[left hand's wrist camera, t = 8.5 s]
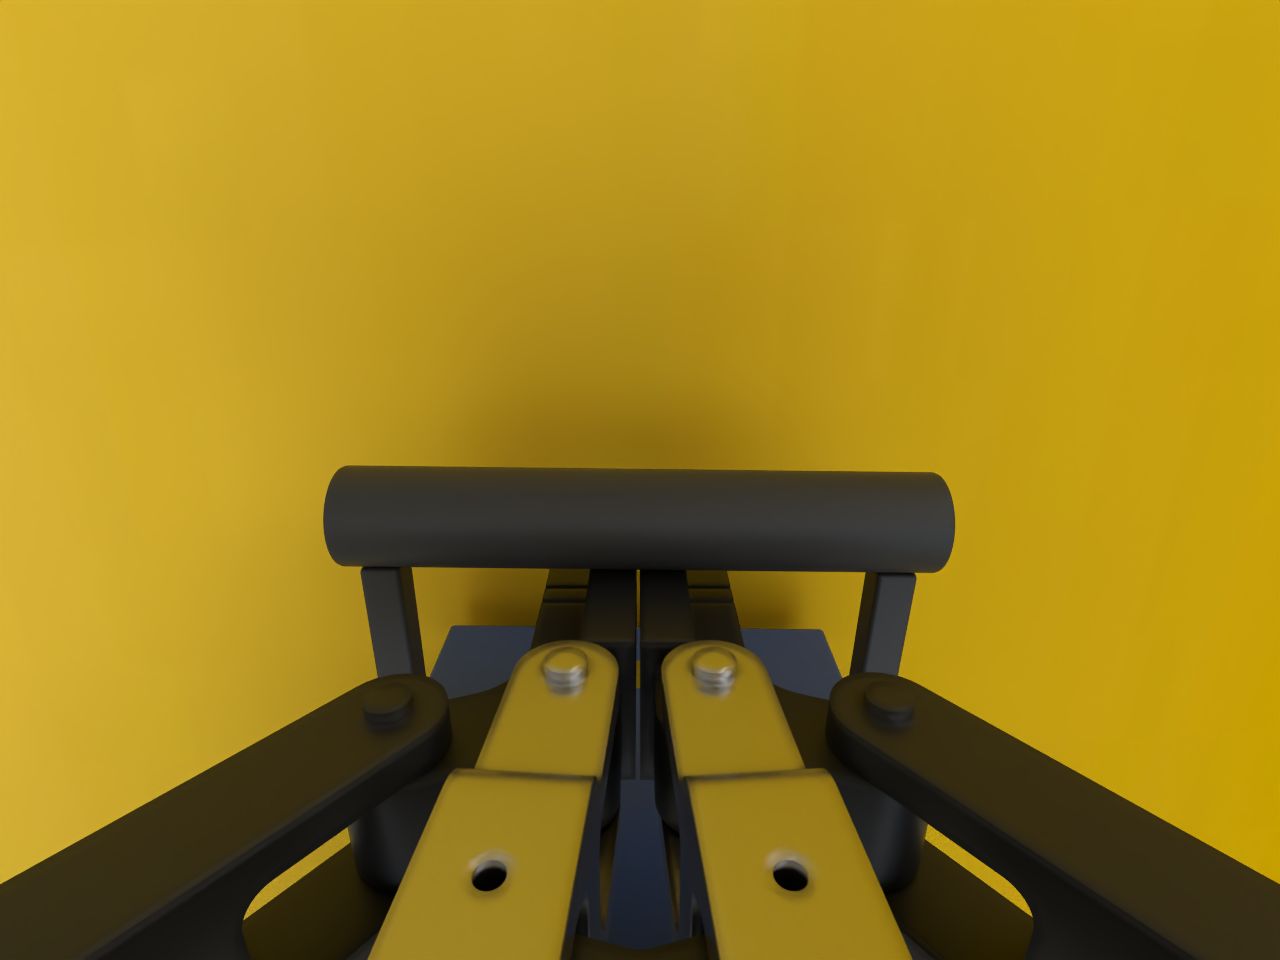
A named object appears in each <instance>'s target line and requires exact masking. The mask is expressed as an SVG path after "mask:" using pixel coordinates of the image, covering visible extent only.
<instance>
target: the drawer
mask: <svg viewBox="0 0 1280 960" xmlns="http://www.w3.org/2000/svg"><path fill="white" fill-rule="evenodd" d="M323 523H324V535H325V541H326V545H327V548H328V551H329V553H330V555H331V557H332V559H333V560H334V561H335V562H336V563H337V564H339V565H341V566H363V567H362V569H361V578H362V584H363V590H364V596H365V602H366V608H367V614H368V620H369V626H370V633H371V639H372V645H373V651H374V657H375V663H376V669H377V675H378V678H380V677H384V676H388V675H394V674H418V675H424V676H426V673H425V665H424V658H423V650H422V643H421V635H420V628H419V620H418V613H417V605H416V598H415V590H414V582H413V575H412V567H453V568H542V569H631V570H720V571H809V572H866V574H865V580H864V586H863V592H862V599H861V605H860V611H859V617H858V624H857V630H856V636H855V642H854V649H853V655H852V661H851V667H850V674H849V675H852V674H856V673H863V672H878V673H886V674H892V675H896V676H898V671H899V666H900V661H901V656H902V651H903V646H904V640H905V635H906V630H907V625H908V620H909V615H910V609H911V604H912V599H913V594H914V589H915V584H916V575H915V573H935V572H937V571H940V570H941V569H942V568H943V567H944V566H945V565H946V563H947V561H948V559H949V557H950V554H951V551H952V547H953V542H954V535H955V514H954V506H953V501H952V497H951V493H950V491H949V488H948V486H947V484H946V482H945V481H944V480H943V478H942V477H941V476H939V475H937V474H935V473H931V472H853V471H768V470H683V469H599V468H514V467H429V466H344V467H342V468H340V469H339V470H338V471H337V472H336V473H335V474H334V476H333V478H332V479H331V481H330V484H329V487H328V490H327V494H326V498H325V504H324V517H323ZM535 628H536V626H452V627H451V629H450V631H449V634H448V636H447V638H446V641H445V643H444V645H443V647H442V650H441V652H440V654H439V657H438V659H437V661H436V664H435V666H434V668H433V671H432V673H431V675H430V678H432V679H434V680H436V681H438V682H439V683H440V684H441V685H442V686H443V687H444V688H445V690H446V693H447V695H448V699H452V698H457V697H461V696H466V695H470V694H475V693H479V692H482V691H486V690H489V689H491V688H494V687H496V686H498V685H500V684H502V683H504V682H506V681H507V680H509V679H510V677H511V674H512V672H513V669H514V667H515V665H516V663H517V662H518V661H519V660H520V658H521V657H522V656H524V655H525V654H526V653H527V652H529V651H530V648H531V644H532V640H533V636H534V632H535ZM741 633H742V638H743V642H744V646H745V648H746V649H748V650H749V651H751V652H753V653H754V654H755V655H756V656H758V657H759V658H760V660H761V661H762V662H763V663H764V665H765V667H766V669H767V672H768V674H769V677H770V679H771V682H772V684H774V685H776V686H778V687H780V688H783V689H786V690H788V691H792V692H795V693H799V694H803V695H808V696H812V697H817V698H822V699H826V700H829V697H830V692H831V690H832V688H833V686H834V685H835V684H836V683H837V682H838V681H839V680H841V679H842V677H841V674H840V672H839V669H838V667H837V664H836V662H835V660H834V657H833V655H832V652H831V650H830V647H829V645H828V643H827V640H826V638H825V635H824V633H823V631H822V630H819V629H741ZM620 805H621V833H620V841H619V849H618V857H617V866H616V874H615V882H614V891H613V899H612V907H611V915H610V924H609V932H608V940H607V942H608V943H611V944H615V945H619V946H623V947H626V948H631V949H649V948H654V947H657V946H661V945H665V944H669V943H672V942H673V941H672V932H671V924H670V916H669V908H668V899H667V891H666V883H665V874H664V866H663V858H662V850H661V841H660V833H659V813H658V811H657V808H656V805H655V792H654V780H640V628H638V627H637V648H636V774H635V780H621V797H620Z"/></svg>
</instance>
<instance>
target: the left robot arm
mask: <svg viewBox="0 0 1280 960" xmlns="http://www.w3.org/2000/svg"><path fill="white" fill-rule="evenodd" d="M636 648H637V570H631V569H550V571H549V575H548V579H547V583H546V589H545V591H544V595H543V602H542V603H541V608H540V612H539V616H538V620H537V624H536V628H535V632H534V636H533V640H532V644H531V648H530V651H529V652H527V653H526V654H525V655H524V656H522V657H521V658H520V660H519V661H518V662H517V663H516V665H515V667H514V669H513V672H512V674H511V677H510V679H509V680H507V681H506V682H504V683H502V684H500V685H498V686H496V687H494V688H491V689H489V690H486V691H482V692H479V693H475V694H470V695H466V696H461V697H457V698H452V699H448V695H447V693H446V690H445V688H444V687H443V686H442V685H441V684H440V683H439V682H438V681H436V680H434V679H432V678H430V677H427V676H424V675H418V674H394V675H388V676H384V677H380V678H376V679H373V680H371V681H368V682H366V683H364V684H362V685H360V686H358V687H356V688H354V689H352V690H350V691H348V692H347V693H345V694H343V695H341V696H339V697H338V698H336V699H334V700H332V701H330V702H329V703H327V704H325V705H323V706H321V707H320V708H318V709H316V710H314V711H312V712H311V713H309V714H307V715H305V716H303V717H302V718H300V719H298V720H296V721H294V722H293V723H291V724H289V725H287V726H285V727H283V728H282V729H280V730H278V731H276V732H274V733H273V734H271V735H269V736H267V737H265V738H264V739H262V740H260V741H258V742H256V743H255V744H253V745H251V746H249V747H247V748H246V749H244V750H242V751H240V752H238V753H237V754H235V755H233V756H231V757H229V758H228V759H226V760H224V761H222V762H220V763H219V764H217V765H215V766H213V767H211V768H209V769H208V770H206V771H204V772H202V773H200V774H199V775H197V776H195V777H193V778H191V779H190V780H188V781H186V782H184V783H182V784H181V785H179V786H177V787H175V788H173V789H172V790H170V791H168V792H166V793H164V794H163V795H161V796H159V797H157V798H155V799H154V800H152V801H150V802H148V803H146V804H145V805H143V806H141V807H139V808H137V809H135V810H134V811H132V812H130V813H128V814H126V815H125V816H123V817H121V818H119V819H117V820H116V821H114V822H112V823H110V824H108V825H107V826H105V827H103V828H101V829H99V830H98V831H96V832H94V833H92V834H90V835H89V836H87V837H85V838H83V839H81V840H80V841H78V842H76V843H74V844H72V845H71V846H69V847H67V848H65V849H63V850H61V851H60V852H58V853H56V854H54V855H52V856H51V857H49V858H47V859H45V860H43V861H42V862H40V863H38V864H36V865H34V866H33V867H31V868H29V869H27V870H25V871H24V872H22V873H20V874H18V875H16V876H15V877H13V878H11V879H9V880H7V881H6V882H4V883H2V884H0V960H1280V884H1278V883H1276V882H1274V881H1273V880H1271V879H1269V878H1267V877H1265V876H1264V875H1262V874H1260V873H1258V872H1256V871H1255V870H1253V869H1251V868H1249V867H1247V866H1246V865H1244V864H1242V863H1240V862H1238V861H1237V860H1235V859H1233V858H1231V857H1229V856H1228V855H1226V854H1224V853H1222V852H1220V851H1218V850H1217V849H1215V848H1213V847H1211V846H1209V845H1208V844H1206V843H1204V842H1202V841H1200V840H1199V839H1197V838H1195V837H1193V836H1191V835H1190V834H1188V833H1186V832H1184V831H1182V830H1181V829H1179V828H1177V827H1175V826H1173V825H1172V824H1170V823H1168V822H1166V821H1164V820H1163V819H1161V818H1159V817H1157V816H1155V815H1154V814H1152V813H1150V812H1148V811H1146V810H1144V809H1143V808H1141V807H1139V806H1137V805H1135V804H1134V803H1132V802H1130V801H1128V800H1126V799H1125V798H1123V797H1121V796H1119V795H1117V794H1116V793H1114V792H1112V791H1110V790H1108V789H1107V788H1105V787H1103V786H1101V785H1099V784H1098V783H1096V782H1094V781H1092V780H1090V779H1089V778H1087V777H1085V776H1083V775H1081V774H1080V773H1078V772H1076V771H1074V770H1072V769H1070V768H1069V767H1067V766H1065V765H1063V764H1061V763H1060V762H1058V761H1056V760H1054V759H1052V758H1051V757H1049V756H1047V755H1045V754H1043V753H1042V752H1040V751H1038V750H1036V749H1034V748H1033V747H1031V746H1029V745H1027V744H1025V743H1024V742H1022V741H1020V740H1018V739H1016V738H1015V737H1013V736H1011V735H1009V734H1007V733H1006V732H1004V731H1002V730H1000V729H998V728H996V727H995V726H993V725H991V724H989V723H987V722H986V721H984V720H982V719H980V718H978V717H977V716H975V715H973V714H971V713H969V712H968V711H966V710H964V709H962V708H960V707H959V706H957V705H955V704H953V703H951V702H950V701H948V700H946V699H944V698H942V697H941V696H939V695H937V694H935V693H933V692H932V691H930V690H928V689H926V688H924V687H922V686H921V685H919V684H917V683H915V682H913V681H910V680H908V679H905V678H902V677H899V676H896V675H892V674H886V673H878V672H863V673H856V674H852V675H849V676H846V677H844V678H842V679H841V680H839V681H838V682H837V683H836V684H835V685H834V686H833V688H832V690H831V692H830V697H829V700H826V699H822V698H817V697H812V696H808V695H803V694H799V693H795V692H792V691H788V690H786V689H783V688H780V687H778V686H776V685H774V684H772V682H771V679H770V677H769V674H768V672H767V669H766V667H765V665H764V663H763V662H762V661H761V660H760V658H759V657H758V656H756V655H755V654H754V653H753V652H751V651H749V650H748V649H746V648H745V646H744V642H743V638H742V633H741V629H740V625H739V621H738V617H737V612H736V608H735V604H734V603H733V596H732V591H731V589H730V583H729V579H728V575H727V571H720V570H640V780H654V792H655V805H656V808H657V811H658V813H659V833H660V841H661V850H662V858H663V866H664V874H665V883H666V891H667V899H668V908H669V916H670V924H671V932H672V941H673V942H672V943H669V944H665V945H661V946H657V947H654V948H649V949H631V948H626V947H623V946H619V945H615V944H611V943H608V942H607V940H608V932H609V924H610V915H611V907H612V899H613V891H614V882H615V874H616V866H617V857H618V849H619V841H620V833H621V805H620V797H621V780H635V774H636ZM928 824H929V825H930V826H932V827H933V828H935V829H936V830H937V831H939V832H940V833H942V834H943V835H945V836H946V837H947V838H949V839H950V840H952V841H953V842H954V843H956V844H957V845H959V846H960V847H961V848H963V849H964V850H966V851H967V852H969V853H970V854H971V855H973V856H974V857H976V858H977V859H978V860H980V861H981V862H983V863H984V864H986V865H987V866H988V867H990V868H991V869H993V870H994V871H995V872H997V873H998V874H1000V875H1001V876H1002V877H1004V878H1005V879H1006V880H1008V881H1009V882H1010V883H1011V884H1012V885H1013V886H1014V887H1015V888H1016V889H1017V890H1018V891H1019V892H1020V894H1021V895H1022V896H1023V898H1024V899H1025V901H1026V902H1027V904H1028V906H1029V908H1030V910H1031V913H1032V916H1033V918H1032V917H1031V916H1030V915H1028V914H1027V913H1025V912H1024V911H1023V910H1021V909H1020V908H1019V907H1017V906H1016V905H1014V904H1013V903H1012V902H1010V901H1009V900H1008V899H1006V898H1005V897H1004V896H1002V895H1001V894H999V893H998V892H997V891H995V890H994V889H993V888H991V887H990V886H988V885H987V884H986V883H984V882H983V881H982V880H980V879H979V878H977V877H976V876H975V875H973V874H972V873H971V872H969V871H968V870H966V869H965V868H964V867H962V866H961V865H960V864H958V863H957V862H955V861H954V860H953V859H951V858H950V857H949V856H947V855H946V854H944V853H943V852H942V851H940V850H939V849H938V848H936V847H935V846H934V845H932V844H931V843H929V842H928V841H927V840H925V835H926V830H927V825H928ZM347 827H348V832H349V836H350V841H351V843H349V844H348V845H346V846H345V847H344V848H342V849H341V850H340V851H338V852H337V853H335V854H334V855H333V856H331V857H330V858H329V859H327V860H326V861H325V862H323V863H322V864H320V865H319V866H318V867H316V868H315V869H314V870H312V871H311V872H309V873H308V874H307V875H305V876H304V877H303V878H301V879H300V880H298V881H297V882H296V883H294V884H293V885H292V886H290V887H289V888H287V889H286V890H285V891H283V892H282V893H281V894H279V895H278V896H276V897H275V898H274V899H272V900H271V901H270V902H268V903H267V904H265V905H264V906H263V907H261V908H260V909H259V910H257V911H256V912H255V913H253V914H252V915H250V916H249V917H248V918H246V919H245V920H243V919H244V915H245V913H246V911H247V909H248V907H249V905H250V903H251V902H252V901H253V899H254V898H255V896H256V895H257V894H258V893H259V892H260V891H261V890H262V889H263V888H264V887H265V886H266V885H267V884H268V883H269V882H271V881H272V880H273V879H275V878H276V877H278V876H279V875H280V874H282V873H283V872H285V871H286V870H287V869H289V868H290V867H292V866H293V865H294V864H296V863H297V862H299V861H300V860H302V859H303V858H304V857H306V856H307V855H309V854H310V853H311V852H313V851H314V850H316V849H317V848H318V847H320V846H321V845H323V844H324V843H326V842H327V841H328V840H330V839H331V838H333V837H334V836H335V835H337V834H338V833H340V832H341V831H342V830H344V829H345V828H347Z"/></svg>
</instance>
